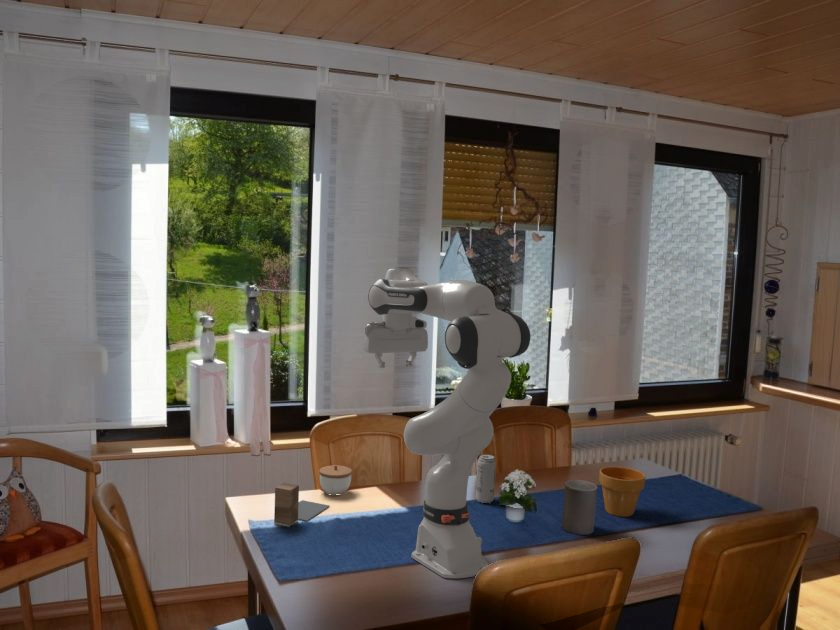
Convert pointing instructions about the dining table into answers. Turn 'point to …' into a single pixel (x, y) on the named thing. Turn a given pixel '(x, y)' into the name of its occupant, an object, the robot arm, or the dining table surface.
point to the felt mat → (309, 510)
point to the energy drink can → (485, 479)
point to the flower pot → (621, 489)
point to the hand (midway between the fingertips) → (395, 367)
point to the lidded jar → (335, 479)
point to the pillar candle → (579, 507)
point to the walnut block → (286, 504)
